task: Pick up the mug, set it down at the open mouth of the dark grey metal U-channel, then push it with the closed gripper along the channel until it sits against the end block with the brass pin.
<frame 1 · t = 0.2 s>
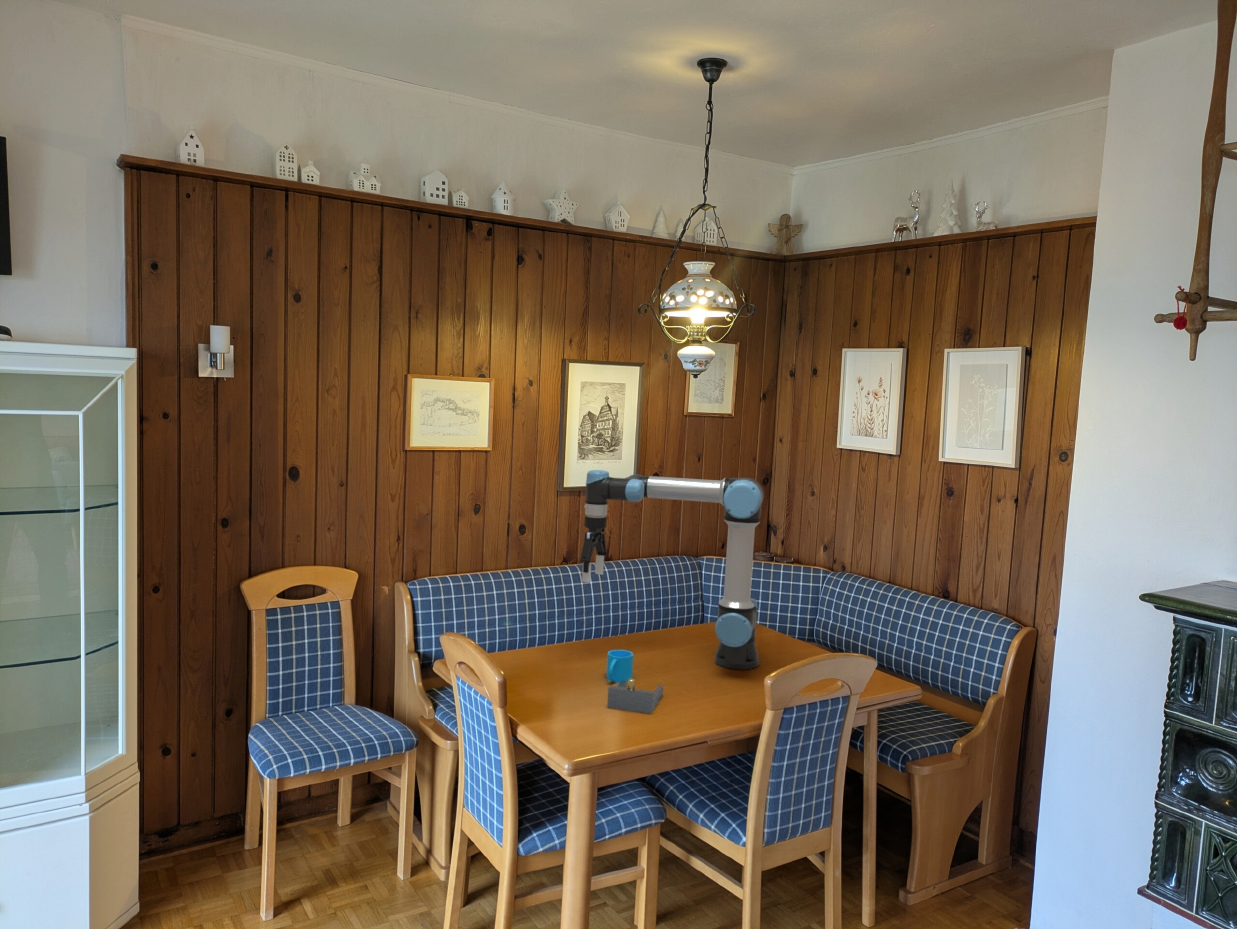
hand: (592, 577, 298), 28 cm above the table, fingers open, 13 cm apart
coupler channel: (635, 701, 260), on the table
mug: (616, 680, 278), on the table
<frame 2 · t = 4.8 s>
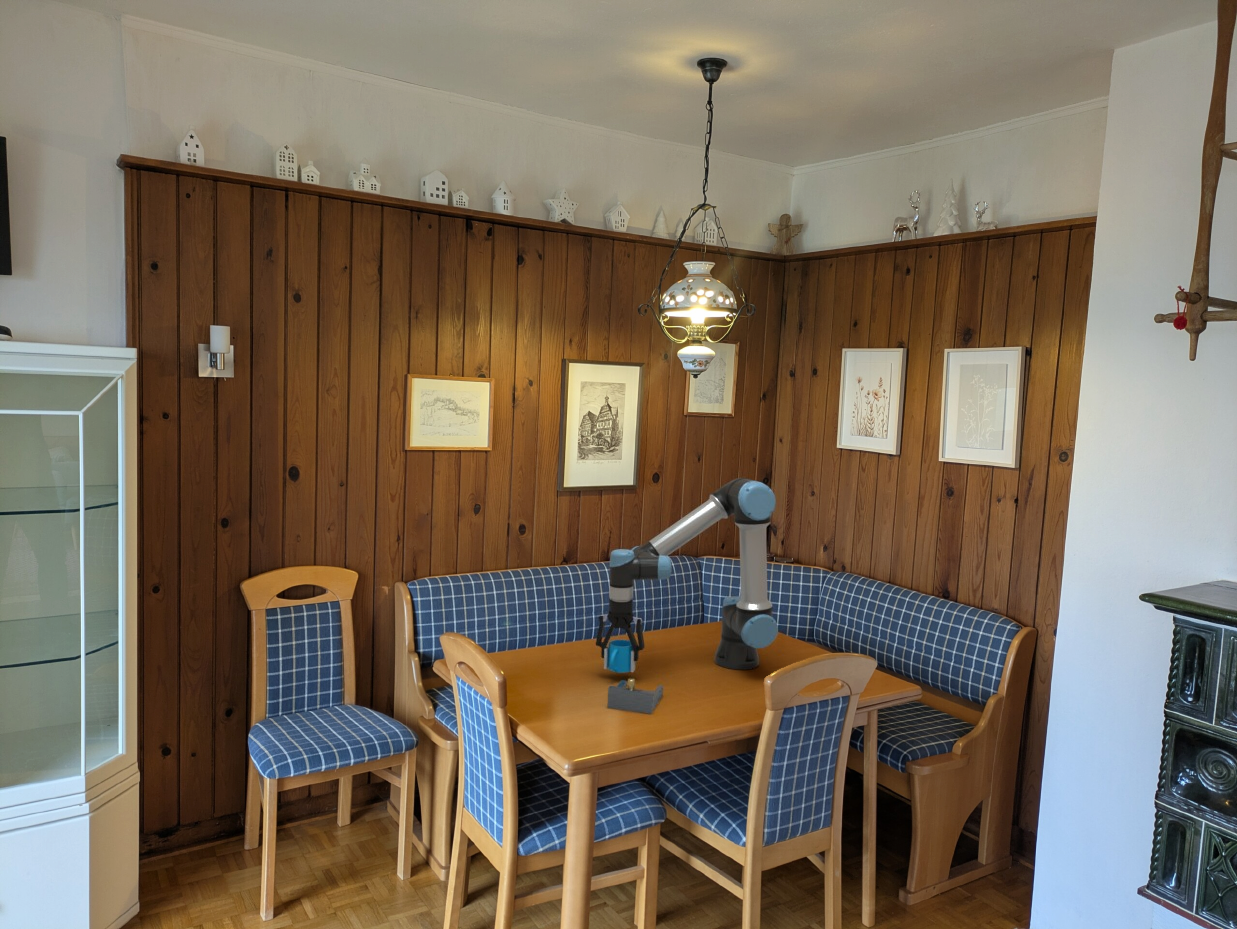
hand: (619, 669, 278), 3 cm above the table, fingers closed on mug, 8 cm apart
mug: (618, 670, 278), point 3 cm above the table, touching gripper
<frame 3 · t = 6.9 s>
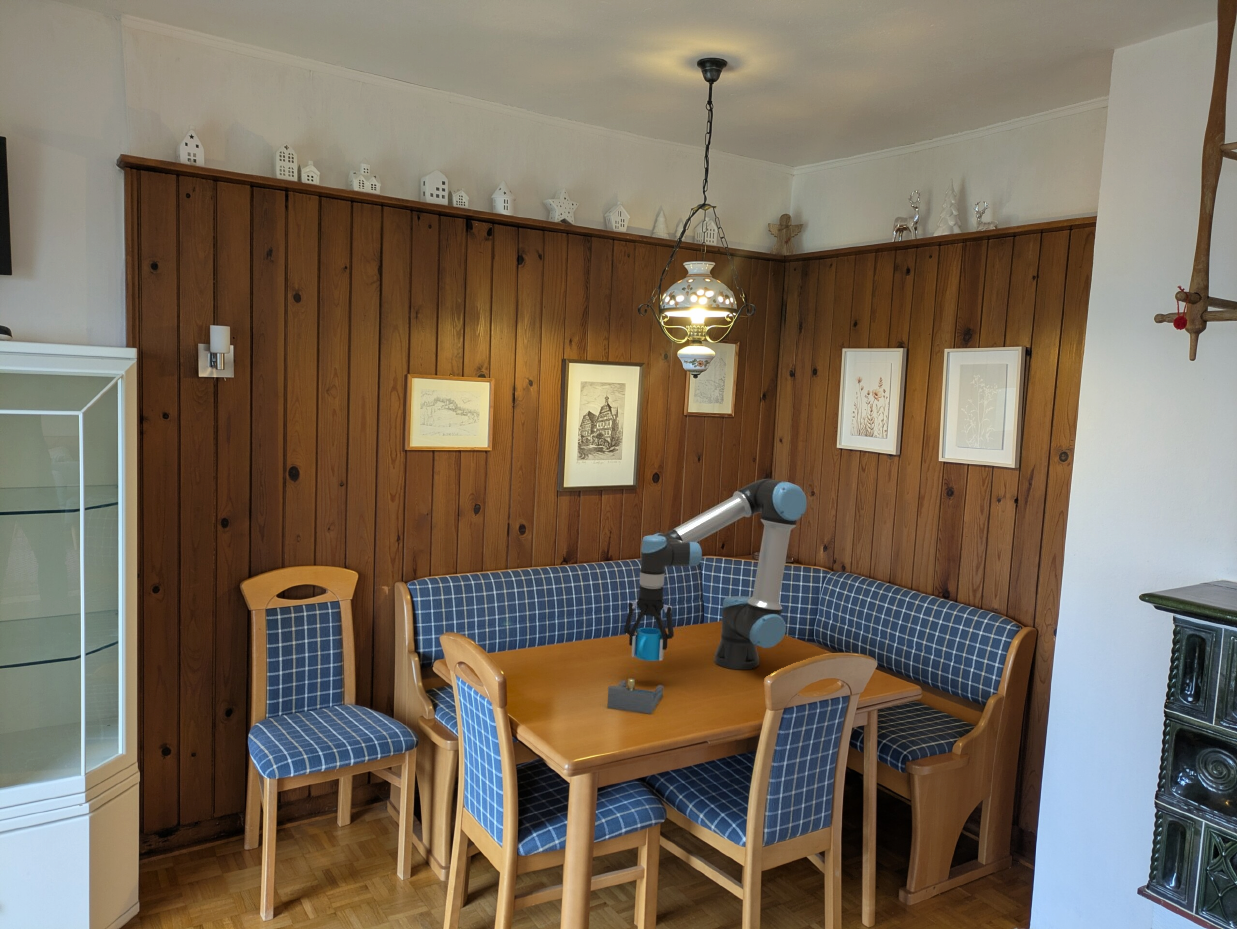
hand: (647, 657, 273), 9 cm above the table, fingers closed on mug, 8 cm apart
mug: (646, 659, 273), point 9 cm above the table, touching gripper
when the fingers open (1 cm above the table, at t = 9.1 s): mug stays where it is, on the table.
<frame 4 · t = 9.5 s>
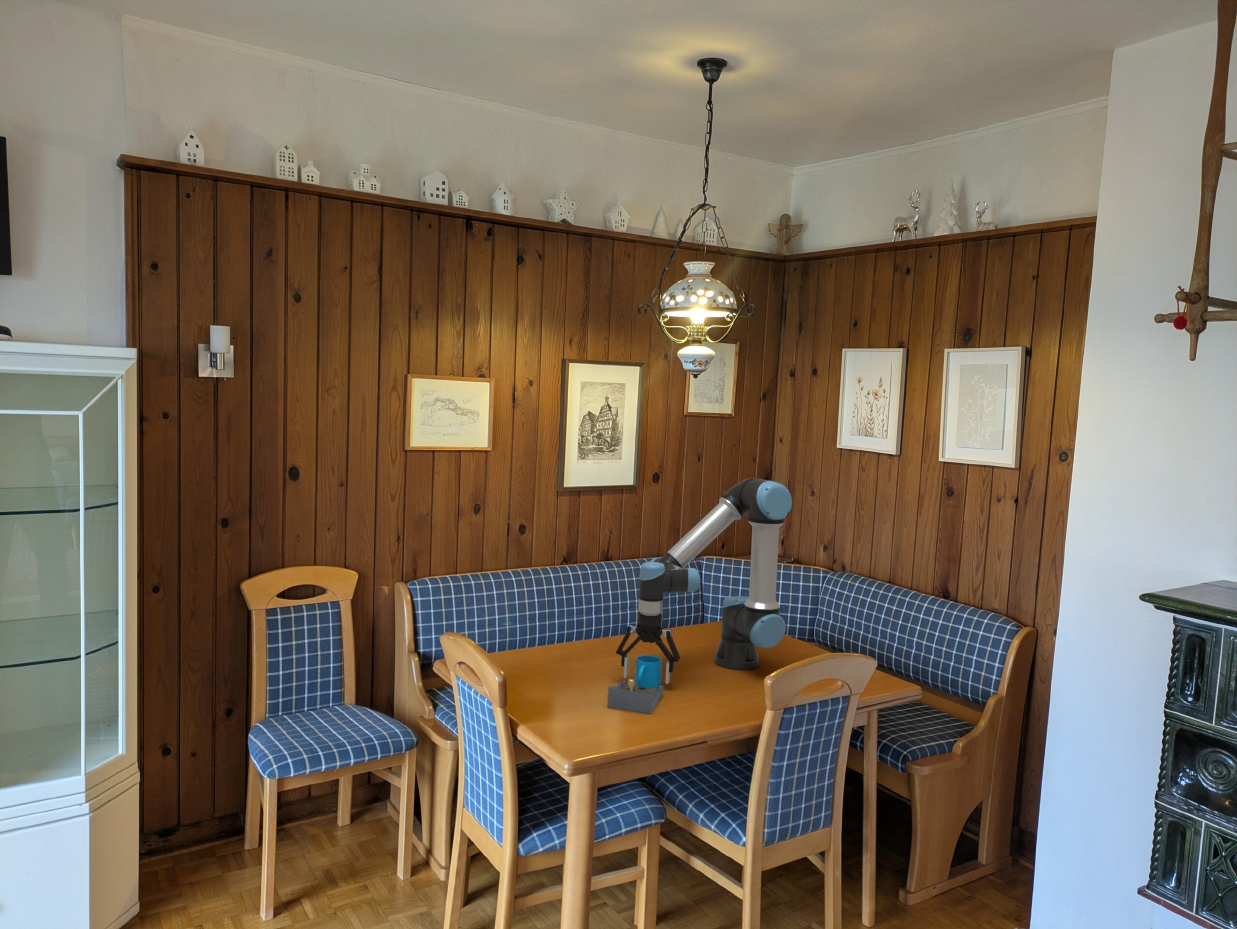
hand: (646, 679, 273), 2 cm above the table, fingers open, 13 cm apart
mug: (645, 686, 274), on the table
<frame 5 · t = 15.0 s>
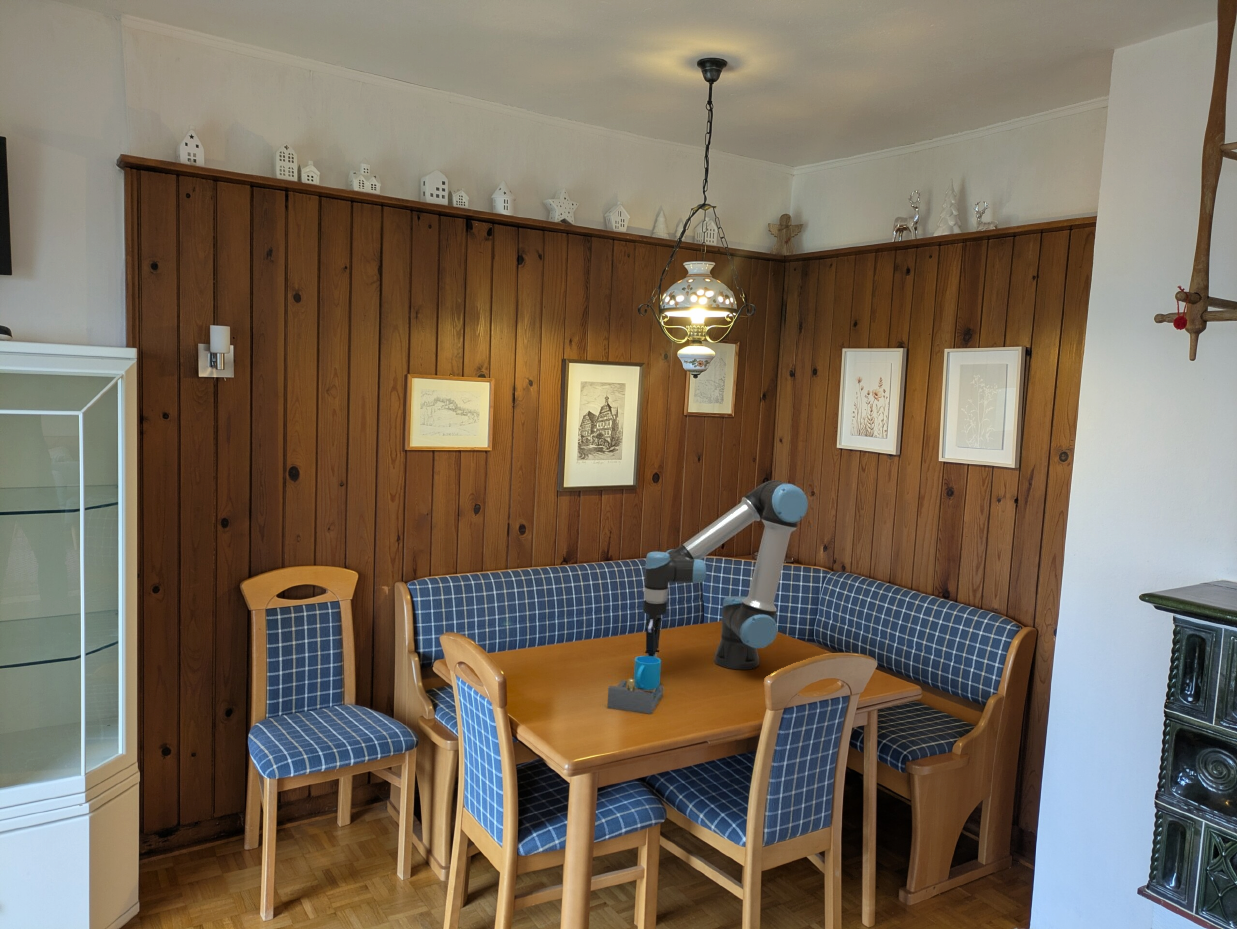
hand: (650, 672, 281), 2 cm above the table, fingers closed
mug: (644, 687, 273), on the table, touching gripper
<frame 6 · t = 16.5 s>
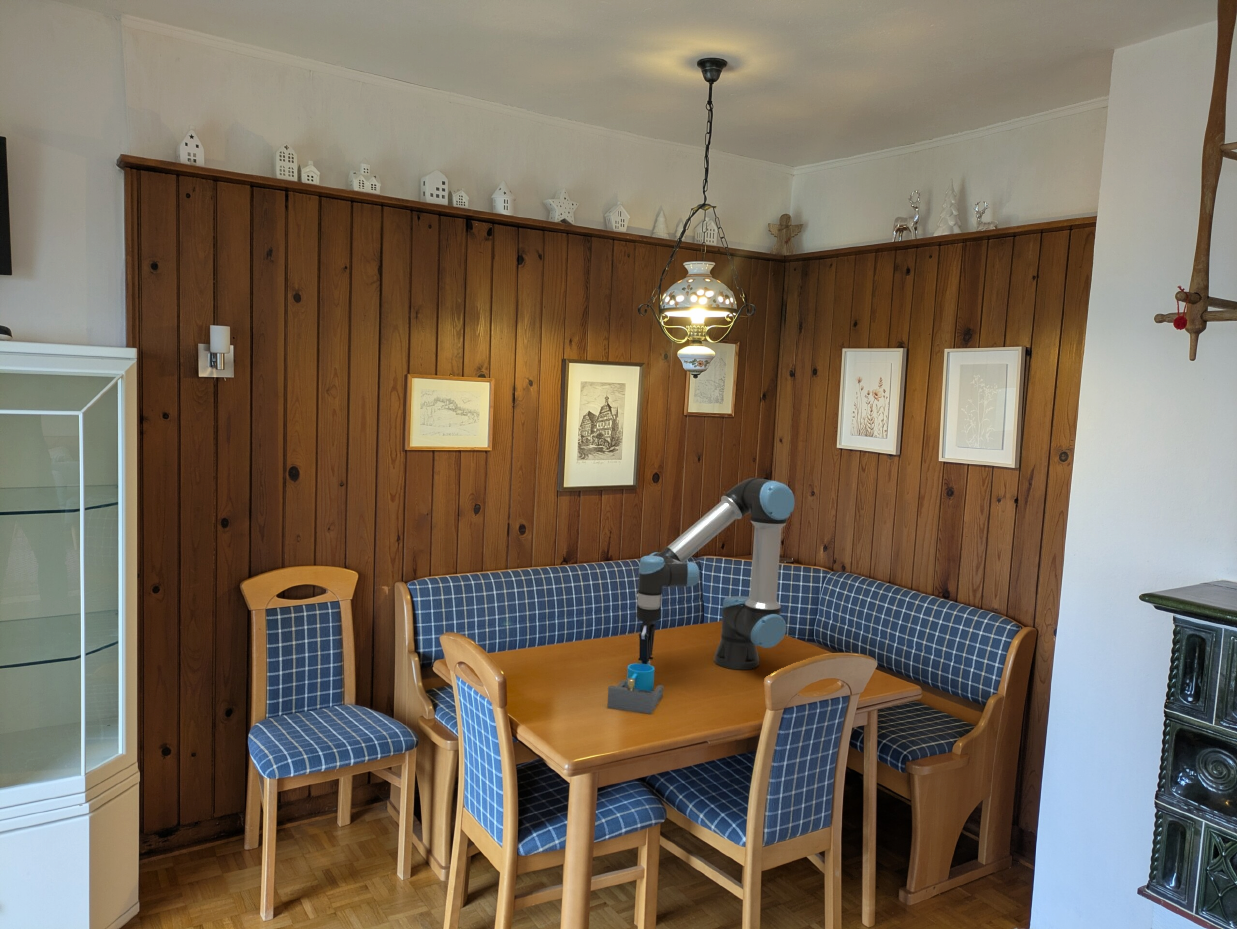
hand: (644, 680, 273), 2 cm above the table, fingers closed
mug: (637, 696, 264), on the table, touching gripper
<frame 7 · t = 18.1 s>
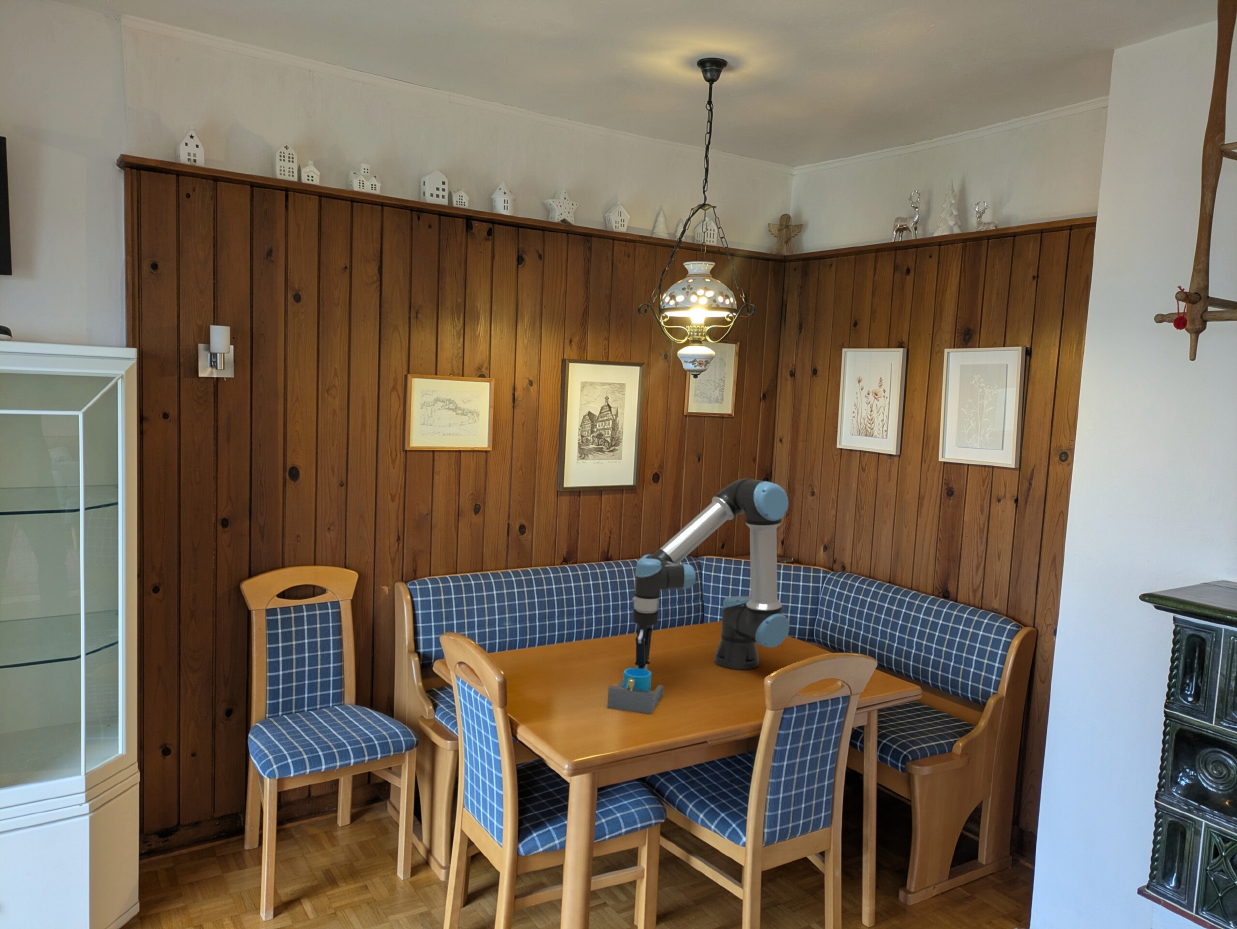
hand: (640, 685, 268), 2 cm above the table, fingers closed
mug: (633, 701, 260), on the table, touching gripper
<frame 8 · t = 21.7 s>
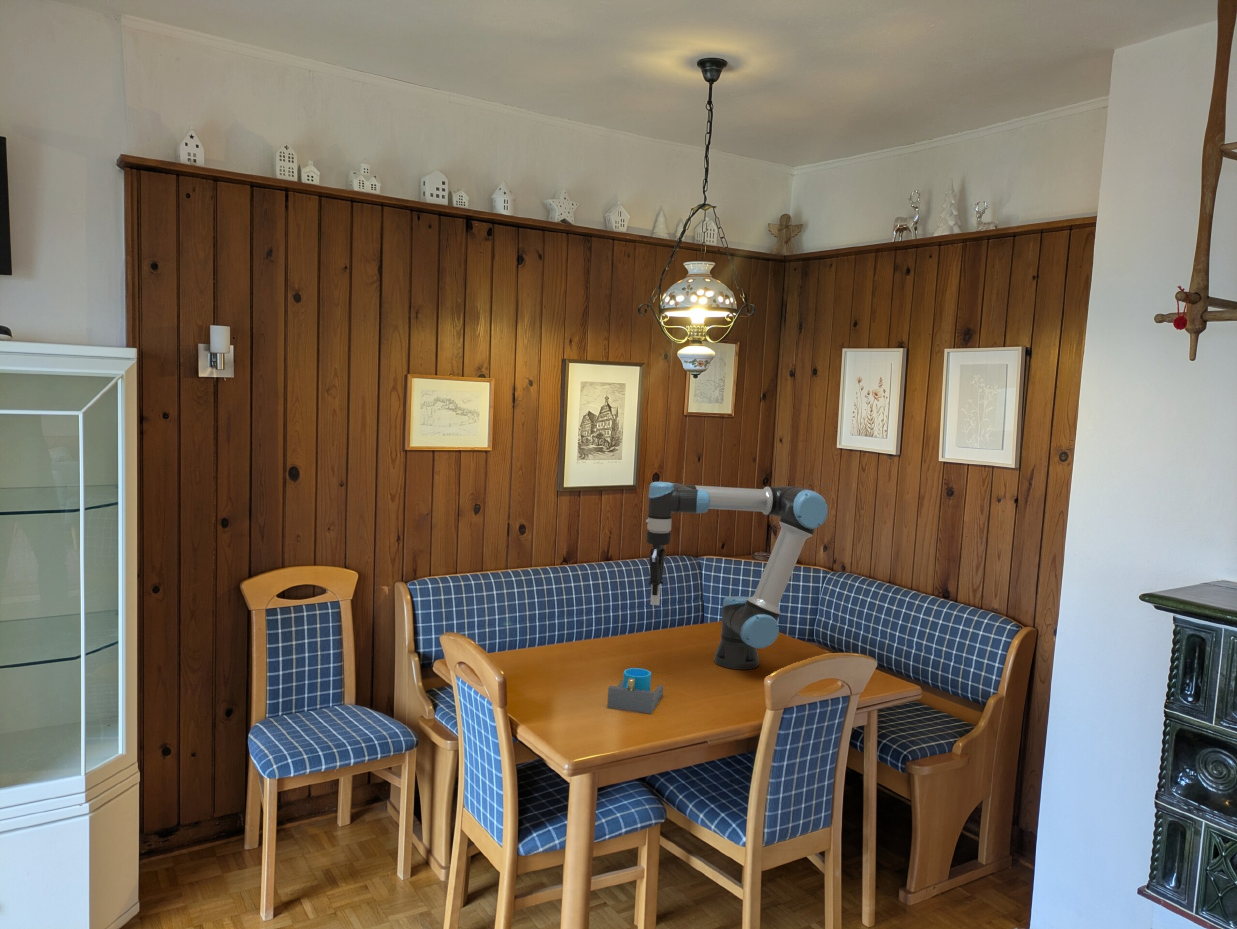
hand: (655, 604, 278), 24 cm above the table, fingers closed
mug: (633, 701, 260), on the table
at the end: mug inside the target area on the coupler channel (1.1 cm from its centre), point 0.0 cm above the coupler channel's base; mug tilted 0°; the gripper is holding nothing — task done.
